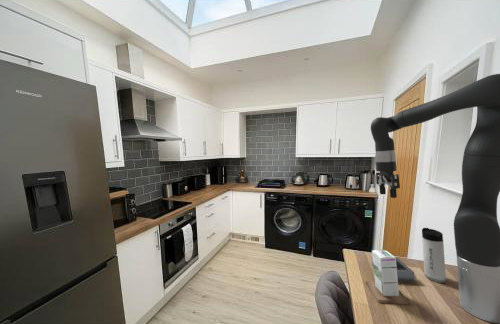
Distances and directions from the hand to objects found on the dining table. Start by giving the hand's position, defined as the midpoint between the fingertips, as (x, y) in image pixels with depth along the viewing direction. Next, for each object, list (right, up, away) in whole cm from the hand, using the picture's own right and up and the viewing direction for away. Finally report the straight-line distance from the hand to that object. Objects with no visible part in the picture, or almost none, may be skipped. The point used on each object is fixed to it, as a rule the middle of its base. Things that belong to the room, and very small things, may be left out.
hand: (387, 195), depth 83 cm
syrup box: (-11, -34, -14) cm, 39 cm away
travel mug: (+14, -33, -7) cm, 37 cm away
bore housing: (0, -34, -3) cm, 34 cm away
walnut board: (-11, -35, -14) cm, 39 cm away
